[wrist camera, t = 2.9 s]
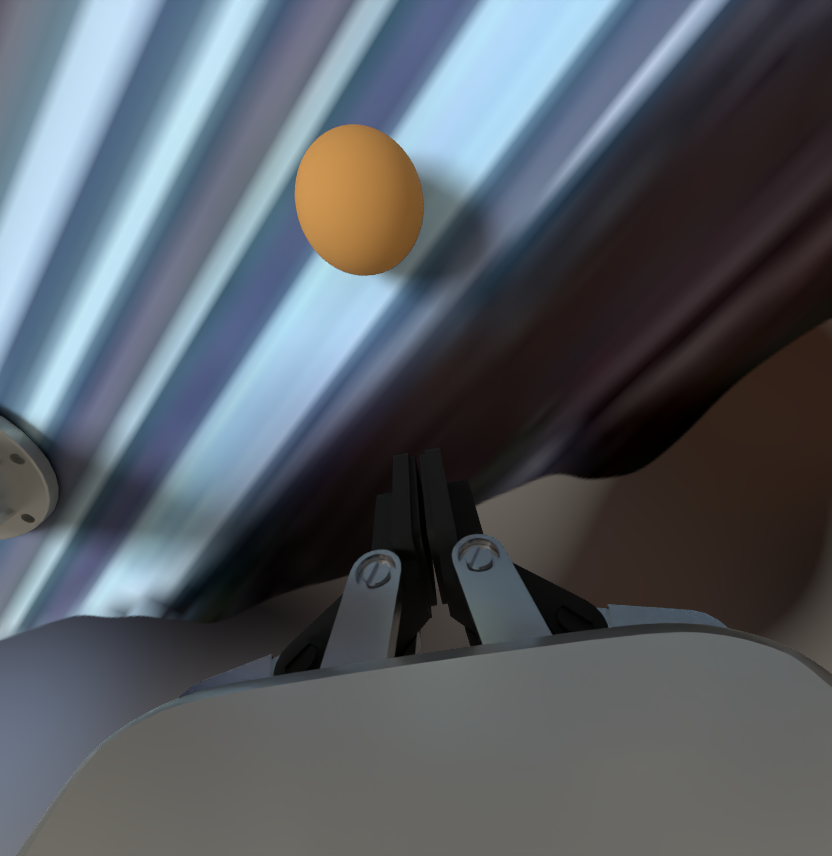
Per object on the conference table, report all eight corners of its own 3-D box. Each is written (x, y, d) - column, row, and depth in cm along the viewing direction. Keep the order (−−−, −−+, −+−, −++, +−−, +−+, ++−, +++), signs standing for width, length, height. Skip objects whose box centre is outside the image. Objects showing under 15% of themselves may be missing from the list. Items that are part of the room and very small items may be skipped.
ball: (328, 280, 21) (307, 292, 15) (294, 157, 18) (254, 120, 13) (426, 261, 21) (439, 266, 15) (408, 133, 18) (415, 86, 12)
